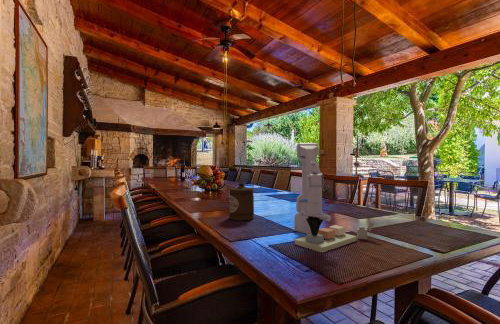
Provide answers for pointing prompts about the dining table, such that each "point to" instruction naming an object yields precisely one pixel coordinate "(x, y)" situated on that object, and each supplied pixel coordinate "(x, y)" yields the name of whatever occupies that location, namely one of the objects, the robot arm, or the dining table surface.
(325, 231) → the key terracotta
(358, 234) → the lighter
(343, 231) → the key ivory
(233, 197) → the wooden container
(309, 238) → the key slate
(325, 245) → the panel
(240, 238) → the dining table surface
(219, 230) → the dining table surface
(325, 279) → the dining table surface
